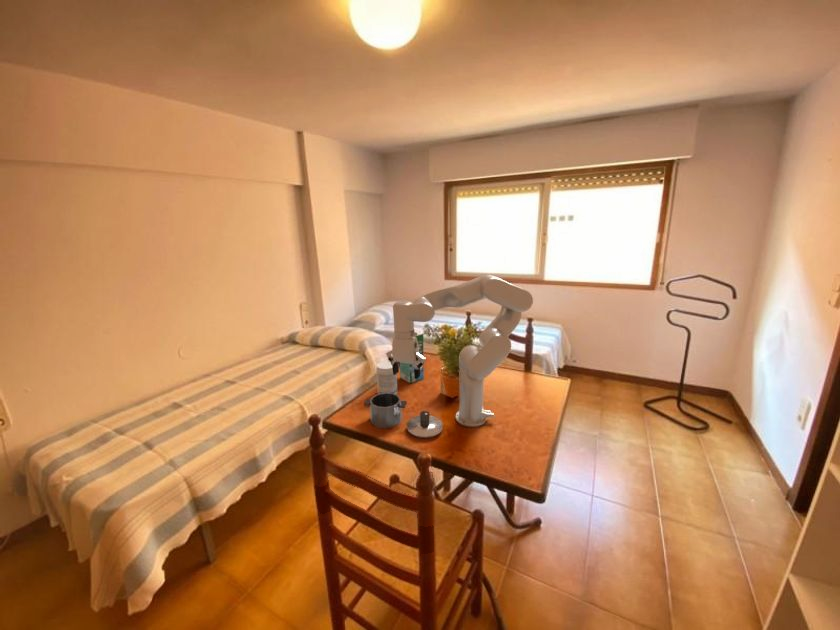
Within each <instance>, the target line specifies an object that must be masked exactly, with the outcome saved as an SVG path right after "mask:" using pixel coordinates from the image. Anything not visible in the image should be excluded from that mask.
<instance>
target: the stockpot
mask: <svg viewBox="0 0 840 630" xmlns="http://www.w3.org/2000/svg"><path fill="white" fill-rule="evenodd" d="M407 404H408V401H407V400H402V398H401V396H400V395H398V394H397V393H396V394H394V393H381V394H378V393H377V394H375V395H373V396H371V398H366V399H365V401H364V403H363V406H364V407H365V406H366V407H369V416H370V423H371V424H372V426H374V427H376V428H378V429H389V428H394V427H396V426H398V425H399V424H400V423H401V421H402V419H403V415H402V414H403V413H402V409H406V406H407Z"/></svg>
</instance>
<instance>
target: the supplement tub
mask: <svg viewBox="0 0 840 630" xmlns="http://www.w3.org/2000/svg"><path fill="white" fill-rule="evenodd" d="M375 370H376V385H377V394H381V393H394V394H396V395H397V394H398V377H397V376H398V373H397V374H395V375H393V369H392V365H391V362H390V361H382V362H378V363H377V364H376V369H375Z"/></svg>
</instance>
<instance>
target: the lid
mask: <svg viewBox="0 0 840 630" xmlns="http://www.w3.org/2000/svg"><path fill="white" fill-rule="evenodd" d="M443 425H444V424H443V421H442V420H441V419H439V418H438V417H436V416H434V415H430V412H429V411H427V410H422V411H420V413H419V415H416V416H414V417H412V418H410V419H409V420H408V421H407V424H406V426H407V427H406V429H407V431H408V432H409V434H410V435H412V436H415V437H416V438H417V437H418V438H424V439H425V438H432V437H436V436H437V435H439V434H440V433H441V432H442V431H443Z"/></svg>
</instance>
